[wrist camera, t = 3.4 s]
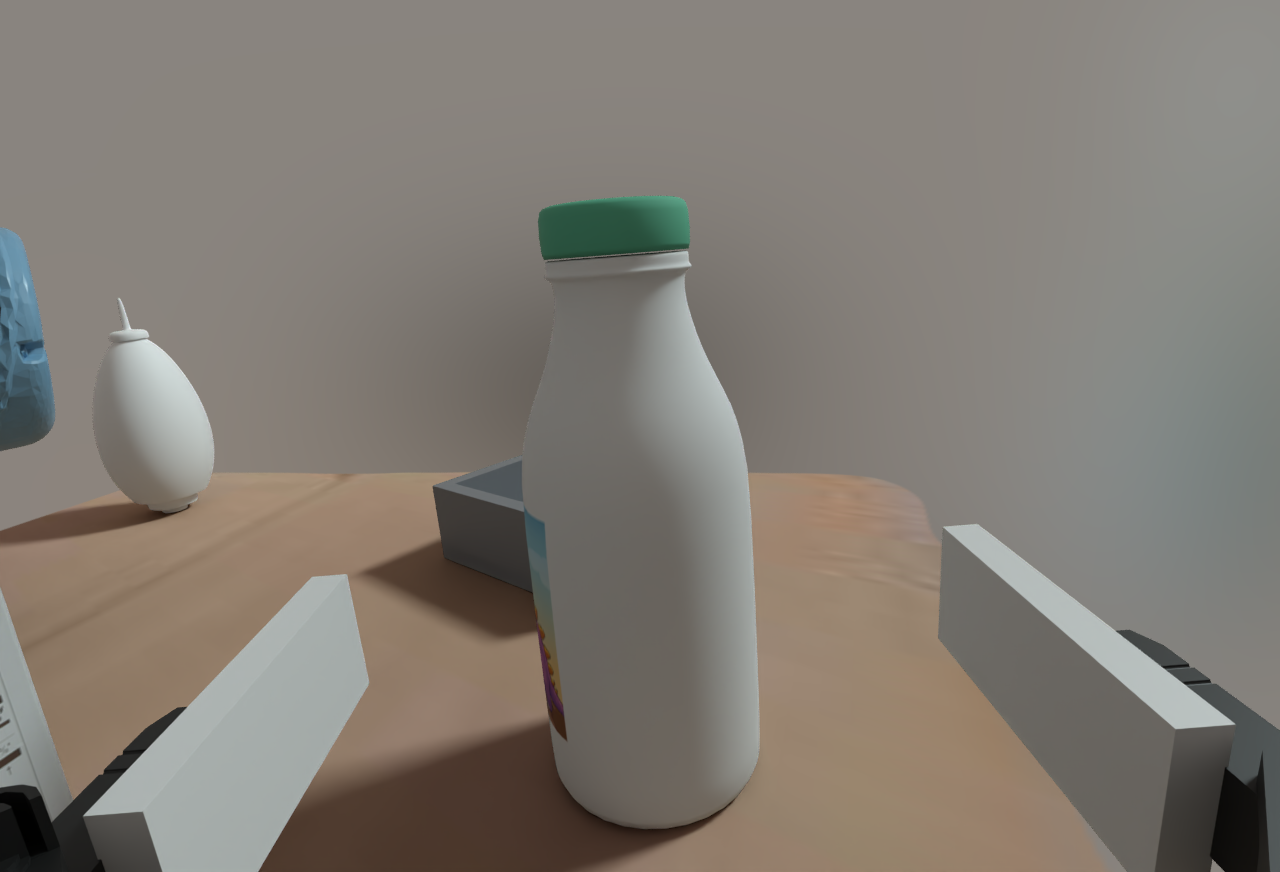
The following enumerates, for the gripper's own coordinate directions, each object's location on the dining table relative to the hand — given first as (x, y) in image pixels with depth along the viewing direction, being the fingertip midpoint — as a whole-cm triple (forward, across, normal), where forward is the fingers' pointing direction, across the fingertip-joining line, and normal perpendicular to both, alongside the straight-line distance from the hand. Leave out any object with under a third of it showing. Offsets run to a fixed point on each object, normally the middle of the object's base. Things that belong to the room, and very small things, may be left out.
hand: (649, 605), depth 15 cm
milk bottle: (+8, 0, -11) cm, 14 cm away
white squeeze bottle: (+43, -40, -11) cm, 60 cm away
